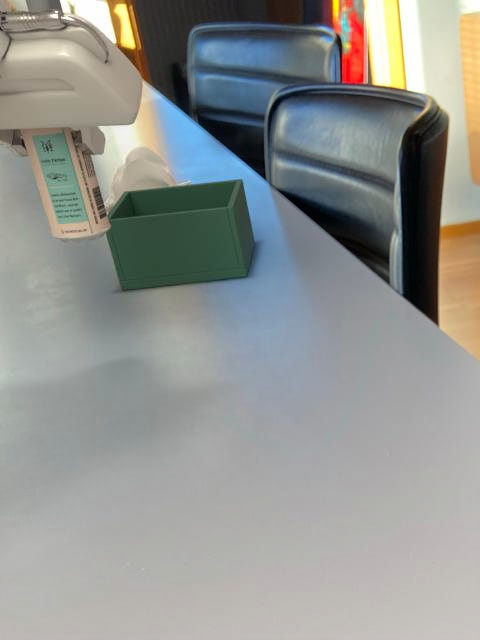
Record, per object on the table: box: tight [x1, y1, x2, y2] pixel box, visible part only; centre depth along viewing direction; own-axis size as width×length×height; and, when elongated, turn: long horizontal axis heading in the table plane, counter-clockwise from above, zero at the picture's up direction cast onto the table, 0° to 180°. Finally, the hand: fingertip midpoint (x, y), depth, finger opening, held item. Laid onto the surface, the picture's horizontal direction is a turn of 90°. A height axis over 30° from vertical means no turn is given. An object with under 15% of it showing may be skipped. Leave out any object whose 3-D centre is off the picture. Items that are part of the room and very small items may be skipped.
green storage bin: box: [105, 178, 256, 291], centre depth 111 cm, size 13×13×7 cm
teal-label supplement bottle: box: [20, 127, 111, 243], centre depth 80 cm, size 5×5×12 cm
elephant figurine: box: [104, 145, 192, 214], centre depth 124 cm, size 10×12×9 cm
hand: (62, 148), depth 81 cm, fingers closed on teal-label supplement bottle, 5 cm apart
